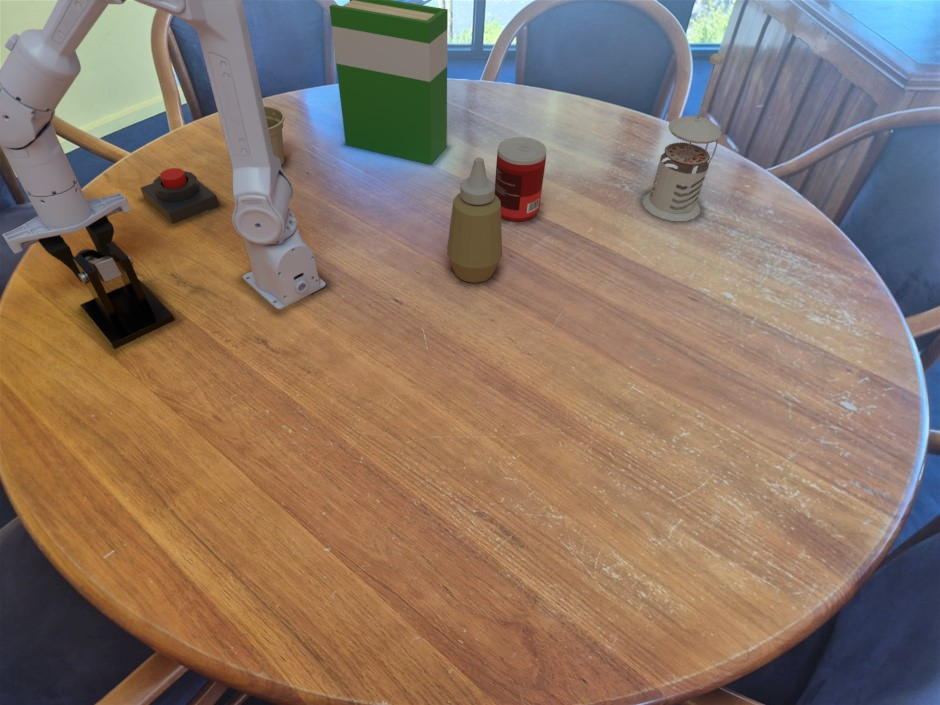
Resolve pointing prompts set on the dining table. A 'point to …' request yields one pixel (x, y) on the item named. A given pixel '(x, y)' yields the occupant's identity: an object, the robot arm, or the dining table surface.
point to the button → (173, 178)
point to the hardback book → (392, 76)
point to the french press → (683, 166)
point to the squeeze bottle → (475, 227)
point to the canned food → (519, 177)
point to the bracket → (121, 302)
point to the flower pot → (275, 130)
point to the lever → (101, 264)
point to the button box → (180, 198)
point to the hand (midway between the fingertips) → (95, 272)
